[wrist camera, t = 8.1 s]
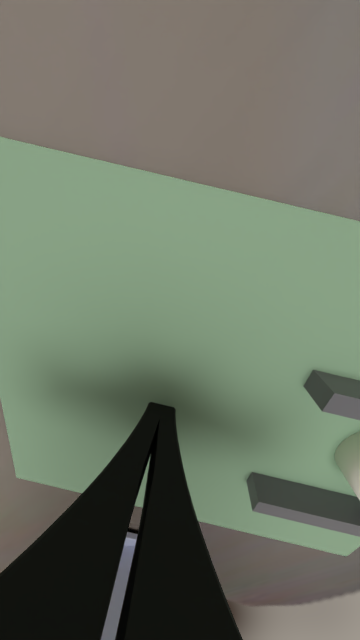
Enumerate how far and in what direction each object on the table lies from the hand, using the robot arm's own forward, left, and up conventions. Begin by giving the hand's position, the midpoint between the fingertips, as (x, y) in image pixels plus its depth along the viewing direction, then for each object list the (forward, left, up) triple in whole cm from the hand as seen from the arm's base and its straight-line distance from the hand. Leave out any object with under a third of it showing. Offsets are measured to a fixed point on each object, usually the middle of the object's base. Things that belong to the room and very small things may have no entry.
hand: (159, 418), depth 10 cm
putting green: (0, -3, -1) cm, 4 cm away
